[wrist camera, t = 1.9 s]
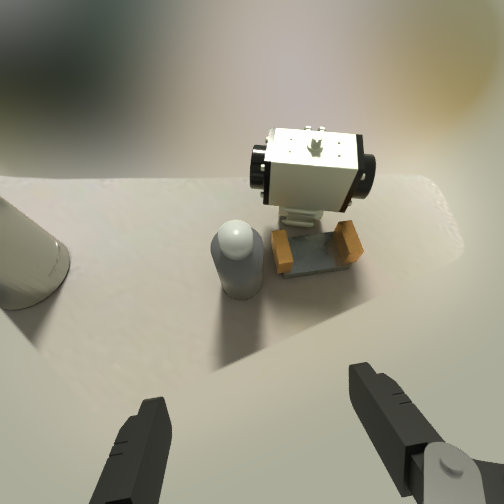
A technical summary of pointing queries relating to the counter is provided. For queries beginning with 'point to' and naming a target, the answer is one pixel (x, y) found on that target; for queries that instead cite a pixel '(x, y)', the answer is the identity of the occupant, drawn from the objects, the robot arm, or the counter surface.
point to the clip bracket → (316, 251)
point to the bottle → (238, 259)
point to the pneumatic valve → (311, 172)
